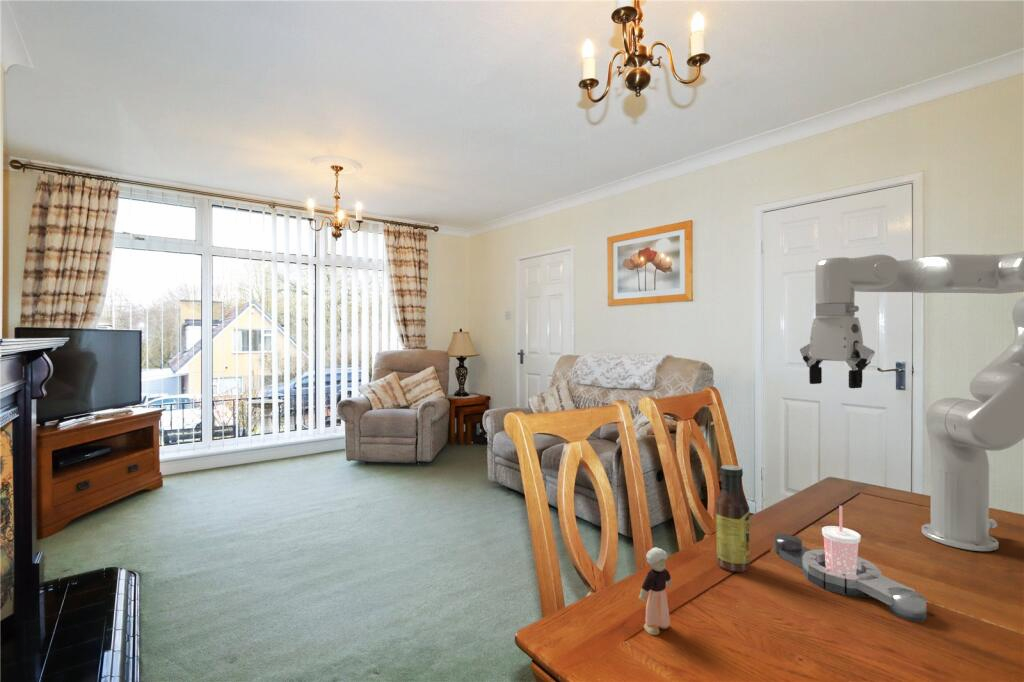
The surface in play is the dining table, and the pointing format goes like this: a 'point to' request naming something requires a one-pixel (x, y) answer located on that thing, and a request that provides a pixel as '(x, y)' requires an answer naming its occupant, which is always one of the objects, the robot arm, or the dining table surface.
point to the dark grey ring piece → (793, 553)
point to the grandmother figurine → (656, 592)
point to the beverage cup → (841, 547)
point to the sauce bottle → (732, 522)
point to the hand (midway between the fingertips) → (834, 385)
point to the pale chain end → (871, 586)
